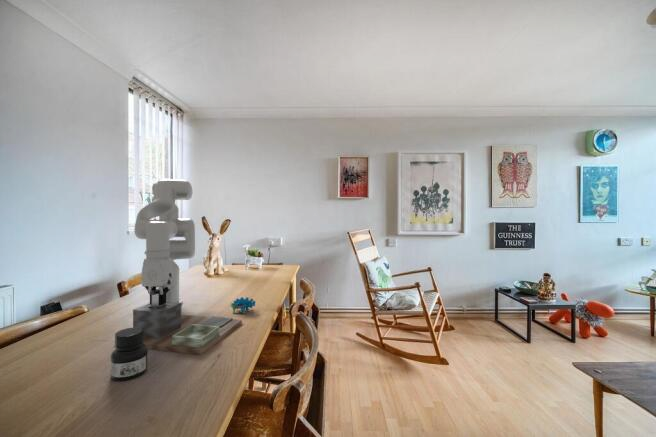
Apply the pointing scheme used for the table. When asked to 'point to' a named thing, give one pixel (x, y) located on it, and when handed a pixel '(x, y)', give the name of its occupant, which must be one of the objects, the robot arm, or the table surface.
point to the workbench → (180, 329)
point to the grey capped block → (156, 299)
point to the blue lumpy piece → (242, 304)
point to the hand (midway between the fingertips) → (158, 303)
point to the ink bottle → (129, 354)
